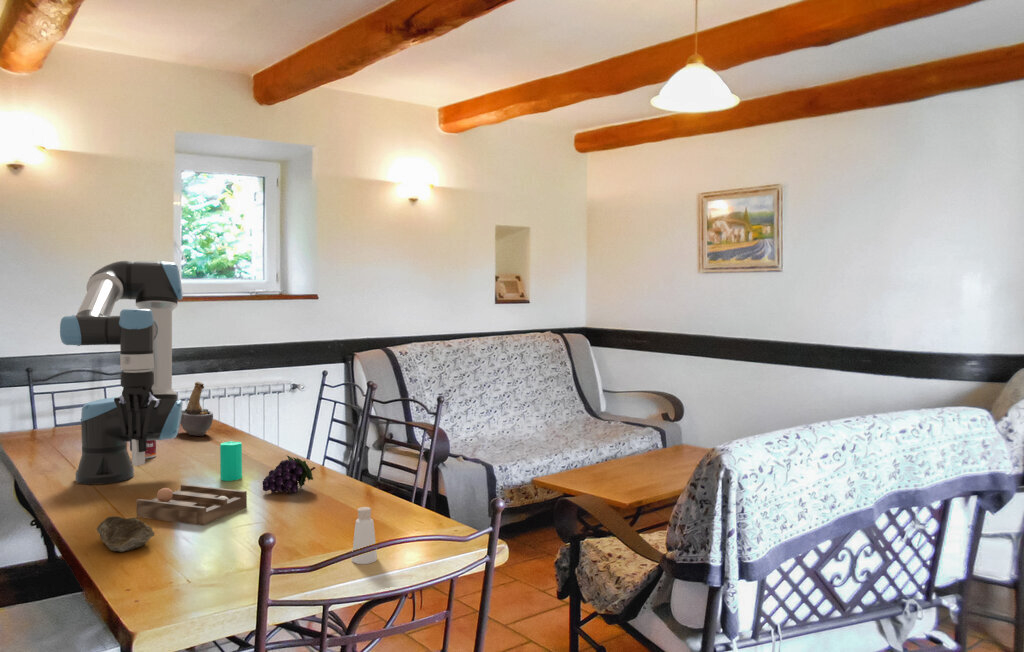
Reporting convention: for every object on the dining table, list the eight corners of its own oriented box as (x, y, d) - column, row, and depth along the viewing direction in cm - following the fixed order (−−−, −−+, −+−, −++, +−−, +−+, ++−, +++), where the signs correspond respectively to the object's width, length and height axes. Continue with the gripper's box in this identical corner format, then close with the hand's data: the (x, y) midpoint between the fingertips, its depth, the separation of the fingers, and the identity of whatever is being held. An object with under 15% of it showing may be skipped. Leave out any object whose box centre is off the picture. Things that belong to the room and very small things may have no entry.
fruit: (263, 502, 214) (312, 481, 223) (275, 505, 206) (326, 483, 214) (251, 467, 214) (301, 447, 222) (263, 469, 205) (315, 448, 214)
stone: (85, 537, 169) (108, 504, 172) (114, 551, 174) (135, 519, 178) (112, 551, 161) (136, 516, 165) (142, 565, 166) (164, 531, 170)
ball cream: (209, 504, 195) (216, 495, 194) (218, 501, 198) (226, 491, 198) (218, 515, 194) (226, 505, 193) (227, 511, 198) (235, 501, 197)
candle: (234, 481, 224) (234, 440, 224) (216, 480, 225) (215, 439, 225) (246, 476, 230) (245, 436, 229) (227, 475, 231) (227, 435, 231)
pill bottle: (134, 459, 250) (134, 426, 249) (135, 455, 256) (135, 422, 255) (155, 458, 252) (155, 424, 252) (156, 454, 258) (156, 421, 257)
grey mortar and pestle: (209, 438, 284) (209, 384, 283) (164, 438, 284) (163, 384, 283) (225, 431, 299) (224, 379, 298) (182, 430, 299) (181, 379, 298)
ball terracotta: (153, 503, 191) (153, 489, 191) (164, 499, 194) (164, 485, 194) (165, 505, 190) (165, 490, 189) (176, 501, 193) (175, 487, 193)
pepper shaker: (346, 562, 161) (346, 510, 160) (360, 554, 166) (360, 503, 165) (368, 566, 159) (368, 513, 158) (382, 557, 164) (382, 506, 163)
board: (136, 516, 190) (136, 499, 190) (183, 499, 205) (183, 484, 205) (203, 525, 184) (203, 508, 183) (246, 507, 199) (246, 491, 198)
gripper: (104, 371, 191) (106, 465, 192) (146, 373, 187) (147, 469, 188) (128, 368, 198) (129, 459, 199) (169, 370, 194) (170, 463, 195)
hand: (138, 464), depth 194 cm, fingers closed
